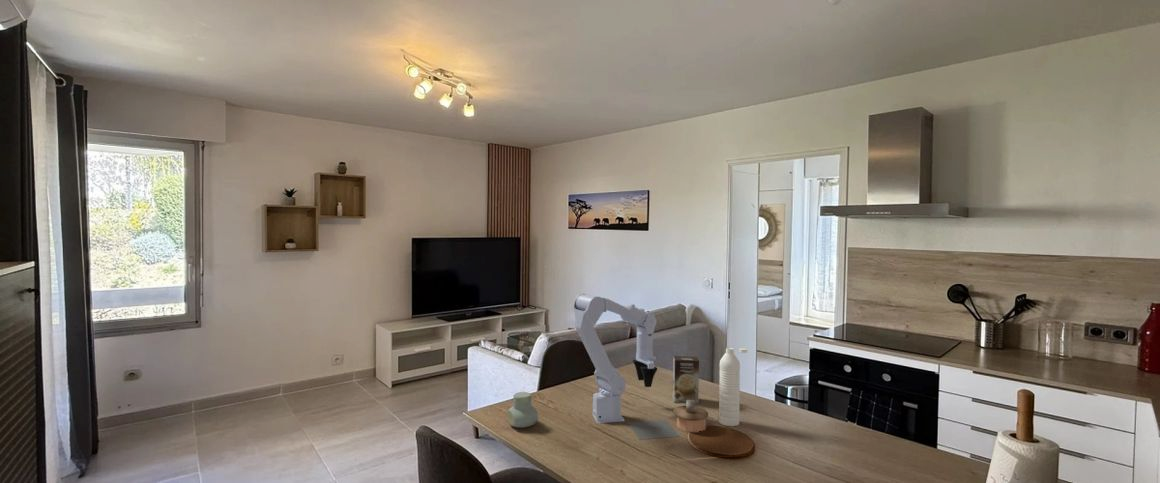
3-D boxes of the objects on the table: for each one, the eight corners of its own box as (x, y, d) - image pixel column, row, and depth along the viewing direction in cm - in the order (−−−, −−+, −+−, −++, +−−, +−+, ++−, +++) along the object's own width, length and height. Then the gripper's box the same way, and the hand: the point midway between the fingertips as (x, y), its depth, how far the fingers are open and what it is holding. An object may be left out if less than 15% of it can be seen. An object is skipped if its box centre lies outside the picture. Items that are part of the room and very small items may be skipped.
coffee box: (673, 403, 179) (674, 359, 178) (672, 397, 185) (672, 355, 185) (699, 403, 178) (699, 360, 177) (696, 397, 184) (696, 356, 184)
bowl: (683, 434, 151) (683, 420, 151) (673, 423, 160) (673, 409, 160) (710, 432, 153) (710, 418, 153) (698, 421, 162) (698, 407, 162)
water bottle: (719, 425, 158) (719, 349, 157) (718, 418, 164) (719, 345, 164) (747, 428, 156) (748, 351, 155) (745, 420, 162) (746, 346, 162)
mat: (639, 441, 147) (639, 439, 146) (627, 424, 159) (627, 422, 159) (680, 437, 149) (680, 436, 149) (665, 421, 162) (665, 419, 162)
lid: (681, 421, 150) (681, 408, 150) (668, 408, 161) (668, 396, 160) (714, 419, 152) (714, 406, 152) (699, 406, 163) (699, 394, 163)
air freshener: (505, 421, 162) (505, 391, 162) (528, 416, 166) (528, 387, 165) (516, 433, 152) (516, 401, 152) (540, 428, 156) (540, 397, 156)
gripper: (662, 349, 165) (662, 389, 166) (648, 340, 180) (648, 376, 180) (642, 350, 164) (642, 390, 164) (630, 341, 178) (630, 377, 179)
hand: (644, 383), depth 172 cm, fingers open, 7 cm apart
